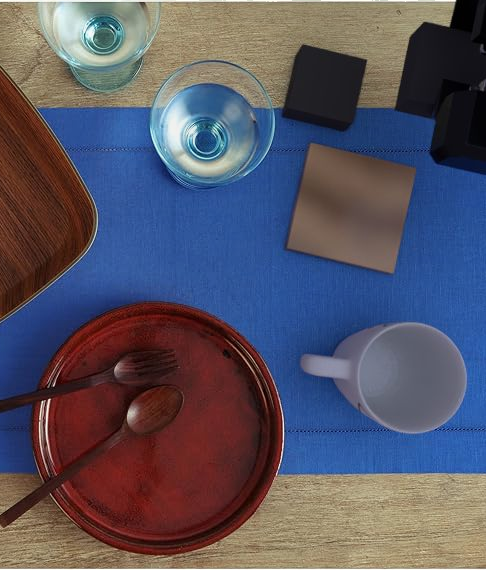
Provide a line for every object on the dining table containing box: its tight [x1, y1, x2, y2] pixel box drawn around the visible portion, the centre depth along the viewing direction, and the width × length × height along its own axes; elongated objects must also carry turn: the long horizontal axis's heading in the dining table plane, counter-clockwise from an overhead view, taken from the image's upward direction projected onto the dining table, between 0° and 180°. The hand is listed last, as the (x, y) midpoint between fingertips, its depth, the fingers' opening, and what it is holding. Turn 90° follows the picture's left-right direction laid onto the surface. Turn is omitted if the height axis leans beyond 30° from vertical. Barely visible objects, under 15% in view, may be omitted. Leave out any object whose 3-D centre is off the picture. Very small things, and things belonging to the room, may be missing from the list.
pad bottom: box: [394, 20, 486, 121], centre depth 46 cm, size 6×6×2 cm
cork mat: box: [283, 142, 418, 275], centre depth 57 cm, size 10×10×1 cm
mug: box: [299, 321, 468, 435], centre depth 51 cm, size 11×8×10 cm
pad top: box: [281, 43, 368, 133], centre depth 56 cm, size 6×6×2 cm
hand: (445, 77), depth 46 cm, fingers closed on pad bottom, 6 cm apart
